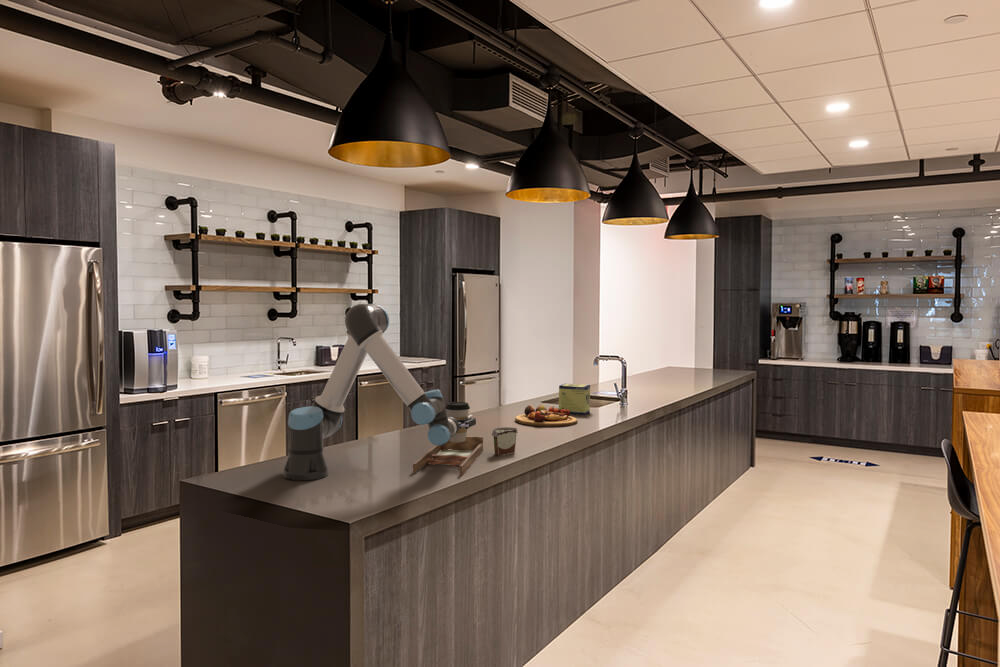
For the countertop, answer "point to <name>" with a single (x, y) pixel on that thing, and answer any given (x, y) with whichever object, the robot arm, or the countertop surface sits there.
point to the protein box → (575, 398)
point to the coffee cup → (458, 412)
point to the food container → (504, 440)
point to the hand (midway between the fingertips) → (460, 417)
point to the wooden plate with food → (546, 417)
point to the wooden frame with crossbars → (453, 454)
